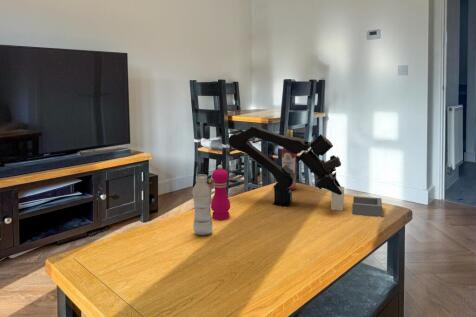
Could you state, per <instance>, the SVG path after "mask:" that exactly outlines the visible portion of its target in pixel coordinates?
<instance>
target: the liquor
mask: <svg viewBox="0 0 476 317" xmlns="http://www.w3.org/2000/svg"><path fill="white" fill-rule="evenodd" d="M293 134H294V131H293V129H287V130H286V136H289V137H293ZM297 155H298V154H293V153H291V152H289V151H288V150H286V149H285V148H283V147H282V148H281V167H284V166H285V165H287V166H288V167H289V168H290V169H291V170H294V171H293V172H294V173H295V176H296V175H297V164H298V163H296V156H297ZM296 177H297V176H296ZM296 180H297V179H296ZM296 180H295V182H294V183H293V184H292V185H291V186H290V187H289V189H291V191H294V190H295V189H296V188H297V186H296V184H297V183H296Z"/></svg>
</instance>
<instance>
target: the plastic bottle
mask: <svg viewBox="0 0 476 317" xmlns="http://www.w3.org/2000/svg"><path fill="white" fill-rule="evenodd" d="M195 182H196V183H195V185H194V186H193V188H192V191H191V192H192V199H193V206H194V217H193V218H194V219H193V226H192V227H193V232H194V233H195V235H198V236H208V235H210V234H211V233H212V232H213V227H214V226H213V220H212V212H211V202H212V188H211V185H209V184H208V174H204V173H201V174H196V175H195Z"/></svg>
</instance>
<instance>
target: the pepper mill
mask: <svg viewBox="0 0 476 317" xmlns="http://www.w3.org/2000/svg"><path fill="white" fill-rule="evenodd" d="M211 179H212V180H213V185H212V186H213V187H214V194H213V197H212V198H211V206H210V210H212V211H213V212H211V217H212V218H213V219H214V220H216V219H217V221H225V220H227V219H229V218H230V212H229V210H230V209H231V201H230V200H229V199H230V198H229V196H228V194H227V186H228V182H227V181H228V179H229V173H228V171H227V170H226V169H224V168H223V166H222V164H219V165H218V166H217V169H215V170H213V171H212V174H211Z"/></svg>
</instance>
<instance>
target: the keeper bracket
mask: <svg viewBox="0 0 476 317" xmlns="http://www.w3.org/2000/svg"><path fill="white" fill-rule="evenodd" d="M352 200H353V201H352V204H351V206H352V207H351V209H352V210H351V215H359V216H367V215H368V216H370V217H378V216H381V217H382V212H383V202H382V201H383V200H382V197H372V196H359V195H358V196H357V195H354V196H353V198H352ZM368 216H367V217H368Z"/></svg>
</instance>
